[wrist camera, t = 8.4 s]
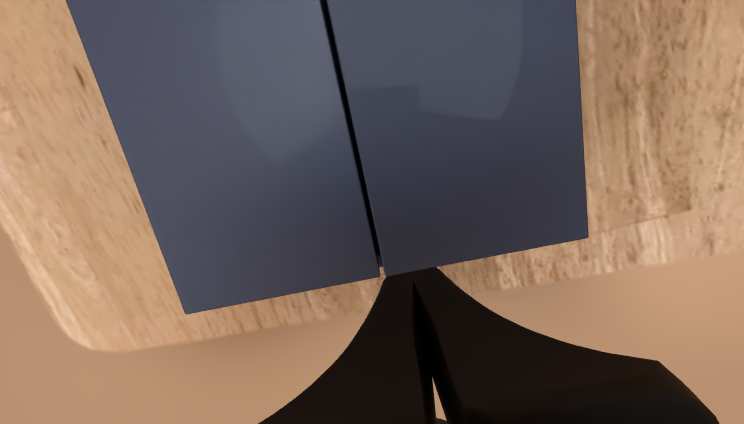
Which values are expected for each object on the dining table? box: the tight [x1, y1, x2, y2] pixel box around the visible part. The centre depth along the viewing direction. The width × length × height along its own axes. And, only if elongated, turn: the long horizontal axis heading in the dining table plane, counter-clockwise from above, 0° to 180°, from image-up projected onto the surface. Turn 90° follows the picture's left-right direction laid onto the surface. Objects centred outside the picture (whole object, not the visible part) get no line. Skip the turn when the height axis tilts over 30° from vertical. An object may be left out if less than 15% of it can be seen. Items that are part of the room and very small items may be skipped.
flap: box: [66, 0, 380, 314], centre depth 13 cm, size 13×6×1 cm, turn 11°
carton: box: [321, 0, 589, 276], centre depth 16 cm, size 13×13×7 cm
